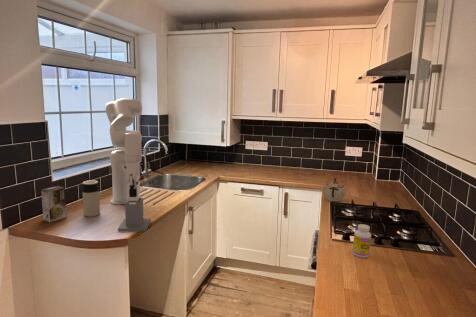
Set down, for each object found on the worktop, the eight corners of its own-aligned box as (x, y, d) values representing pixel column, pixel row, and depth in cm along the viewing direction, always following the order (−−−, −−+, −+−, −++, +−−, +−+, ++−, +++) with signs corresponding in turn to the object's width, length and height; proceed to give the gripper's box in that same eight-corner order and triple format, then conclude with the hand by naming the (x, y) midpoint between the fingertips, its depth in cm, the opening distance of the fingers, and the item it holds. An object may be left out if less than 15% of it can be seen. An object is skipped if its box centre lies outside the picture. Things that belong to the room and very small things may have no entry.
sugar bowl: (323, 194, 222) (325, 174, 219) (346, 197, 217) (348, 176, 214) (319, 202, 204) (321, 180, 202) (343, 206, 199) (346, 183, 196)
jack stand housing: (124, 221, 162) (123, 196, 160) (150, 221, 164) (150, 196, 161) (117, 231, 149) (116, 204, 147) (146, 231, 151) (145, 204, 148)
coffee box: (60, 214, 168) (58, 185, 165) (67, 217, 165) (65, 187, 162) (42, 219, 160) (40, 189, 157) (49, 222, 157) (47, 191, 154)
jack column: (131, 220, 158) (129, 182, 155) (140, 220, 159) (139, 182, 155) (128, 224, 154) (127, 184, 150) (138, 224, 154) (137, 184, 151)
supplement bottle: (358, 259, 131) (362, 229, 129) (348, 251, 137) (351, 223, 135) (372, 257, 133) (375, 228, 130) (362, 250, 139) (365, 222, 137)
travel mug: (100, 215, 169) (99, 183, 165) (84, 217, 165) (82, 184, 162) (99, 211, 176) (97, 179, 172) (83, 212, 172) (81, 180, 169)
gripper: (129, 155, 158) (130, 190, 162) (120, 161, 142) (121, 200, 145) (144, 155, 159) (145, 190, 162) (137, 161, 143) (138, 200, 146)
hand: (134, 194), depth 154 cm, fingers closed on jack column, 4 cm apart
